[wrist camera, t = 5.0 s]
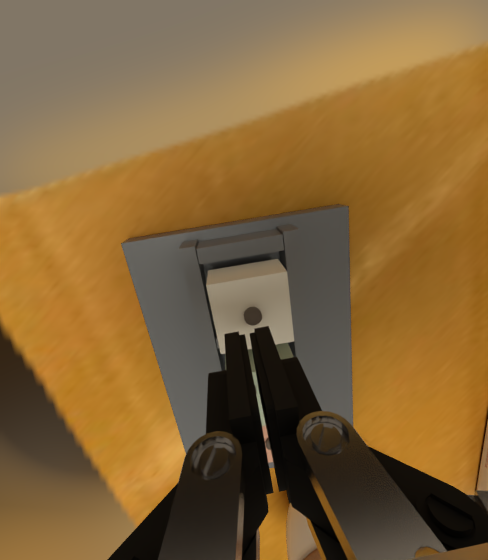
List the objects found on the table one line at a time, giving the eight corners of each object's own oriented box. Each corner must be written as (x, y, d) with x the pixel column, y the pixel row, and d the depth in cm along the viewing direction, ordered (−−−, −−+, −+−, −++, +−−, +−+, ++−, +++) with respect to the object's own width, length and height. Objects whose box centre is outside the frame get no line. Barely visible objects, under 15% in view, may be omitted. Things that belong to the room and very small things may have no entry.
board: (338, 204, 18) (364, 209, 15) (345, 420, 25) (364, 456, 22) (128, 238, 18) (108, 251, 15) (191, 448, 25) (186, 489, 21)
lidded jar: (349, 425, 25) (418, 556, 16) (397, 486, 29) (475, 622, 20) (253, 481, 27) (269, 629, 18) (309, 533, 30) (346, 678, 21)
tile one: (277, 258, 16) (288, 273, 13) (284, 320, 17) (295, 344, 15) (208, 270, 16) (205, 287, 13) (220, 331, 17) (220, 357, 15)
